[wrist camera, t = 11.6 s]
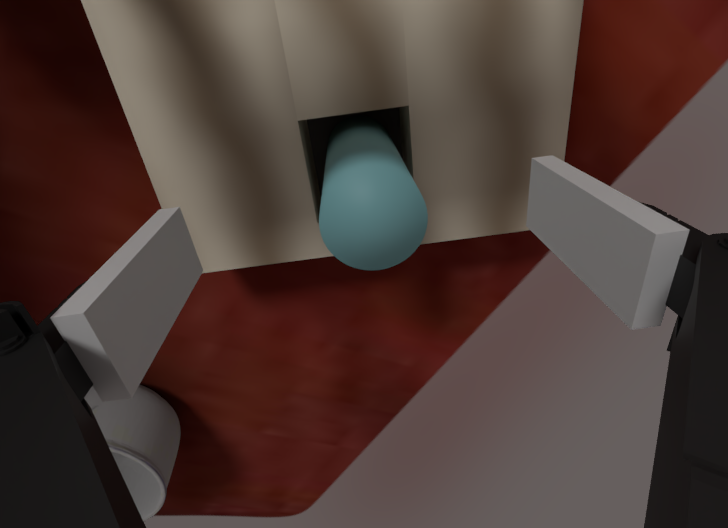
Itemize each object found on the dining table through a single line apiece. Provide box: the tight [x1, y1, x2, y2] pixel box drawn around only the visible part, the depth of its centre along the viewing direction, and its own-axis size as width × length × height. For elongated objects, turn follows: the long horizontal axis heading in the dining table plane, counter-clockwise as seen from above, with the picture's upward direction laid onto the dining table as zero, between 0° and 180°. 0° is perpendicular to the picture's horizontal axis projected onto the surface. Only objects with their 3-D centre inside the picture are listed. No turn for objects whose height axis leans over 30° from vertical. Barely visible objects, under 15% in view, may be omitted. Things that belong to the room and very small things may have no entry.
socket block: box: [81, 0, 583, 273], centre depth 21 cm, size 22×20×5 cm
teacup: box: [84, 385, 181, 522], centre depth 33 cm, size 14×11×8 cm
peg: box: [319, 115, 428, 270], centre depth 20 cm, size 4×4×12 cm
